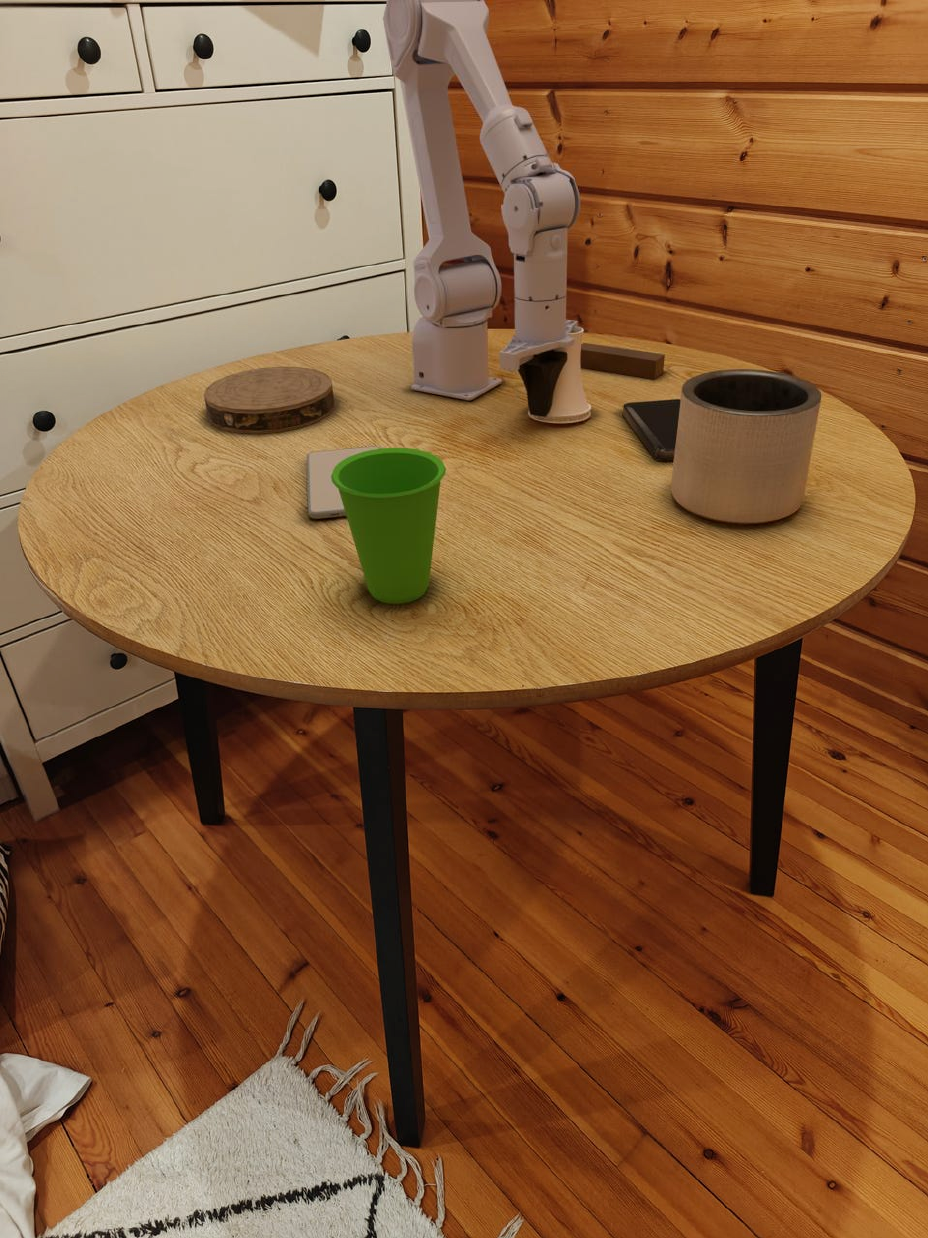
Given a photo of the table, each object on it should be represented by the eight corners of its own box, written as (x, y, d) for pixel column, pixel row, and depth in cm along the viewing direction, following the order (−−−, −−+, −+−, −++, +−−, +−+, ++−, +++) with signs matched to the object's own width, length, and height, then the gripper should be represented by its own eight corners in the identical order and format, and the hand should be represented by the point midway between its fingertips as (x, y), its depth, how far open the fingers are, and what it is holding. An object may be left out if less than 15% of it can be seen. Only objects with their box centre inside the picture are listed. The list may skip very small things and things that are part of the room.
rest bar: (573, 366, 125) (573, 348, 123) (583, 360, 127) (583, 342, 125) (654, 379, 119) (656, 360, 118) (663, 372, 121) (665, 354, 120)
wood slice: (357, 412, 113) (355, 388, 111) (238, 444, 105) (233, 419, 104) (301, 380, 124) (298, 358, 122) (189, 407, 116) (184, 384, 115)
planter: (826, 521, 84) (850, 407, 78) (698, 536, 83) (712, 420, 77) (767, 468, 95) (784, 362, 88) (652, 480, 93) (661, 374, 87)
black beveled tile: (656, 451, 96) (621, 402, 109) (655, 461, 97) (620, 411, 109) (728, 446, 97) (685, 397, 109) (727, 455, 97) (684, 406, 110)
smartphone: (307, 513, 88) (306, 451, 100) (309, 522, 88) (307, 459, 100) (393, 505, 88) (381, 444, 101) (394, 514, 89) (381, 452, 101)
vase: (572, 427, 104) (576, 339, 99) (516, 417, 108) (517, 331, 103) (601, 411, 110) (606, 326, 105) (547, 401, 113) (549, 319, 109)
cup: (347, 566, 81) (332, 450, 74) (448, 558, 81) (442, 443, 75) (344, 621, 73) (328, 498, 67) (455, 613, 73) (449, 489, 67)
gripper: (539, 314, 92) (539, 440, 99) (602, 284, 102) (598, 400, 109) (481, 307, 96) (485, 429, 103) (548, 278, 106) (547, 392, 113)
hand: (540, 414), depth 106 cm, fingers closed, pressing on vase
